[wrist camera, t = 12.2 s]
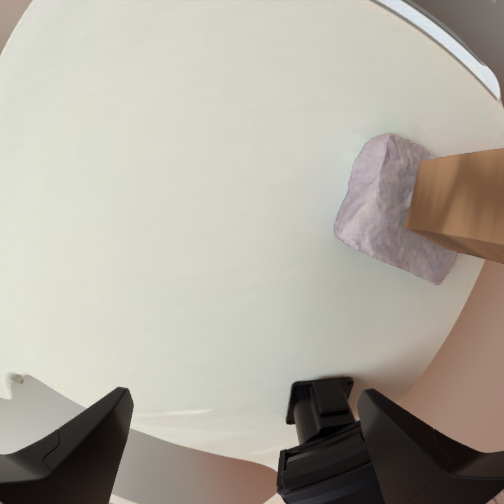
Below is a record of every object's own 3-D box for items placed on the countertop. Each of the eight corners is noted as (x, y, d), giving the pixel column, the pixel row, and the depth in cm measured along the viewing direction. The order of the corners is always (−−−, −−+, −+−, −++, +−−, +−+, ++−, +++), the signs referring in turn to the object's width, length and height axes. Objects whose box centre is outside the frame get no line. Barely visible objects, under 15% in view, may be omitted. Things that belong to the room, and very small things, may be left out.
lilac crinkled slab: (353, 132, 20) (321, 243, 21) (383, 113, 16) (350, 248, 16) (444, 188, 22) (422, 282, 23) (478, 184, 17) (456, 292, 18)
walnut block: (446, 249, 17) (538, 273, 8) (403, 227, 16) (511, 246, 8) (460, 189, 16) (549, 191, 8) (419, 161, 16) (520, 146, 7)
